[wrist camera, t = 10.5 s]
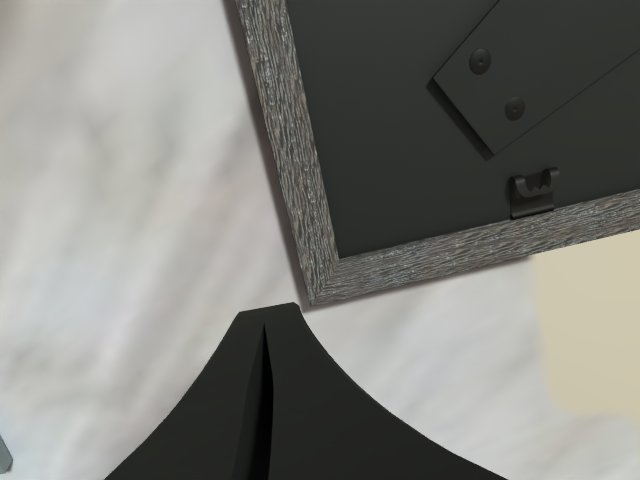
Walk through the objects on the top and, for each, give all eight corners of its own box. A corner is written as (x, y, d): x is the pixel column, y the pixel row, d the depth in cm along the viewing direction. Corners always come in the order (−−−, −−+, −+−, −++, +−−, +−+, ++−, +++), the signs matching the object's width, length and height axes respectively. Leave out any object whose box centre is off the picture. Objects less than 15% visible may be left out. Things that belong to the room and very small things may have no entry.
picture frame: (809, -251, 16) (206, -124, 16) (879, -289, 14) (199, -146, 14) (736, 188, 23) (307, 289, 22) (778, 201, 21) (311, 312, 20)
